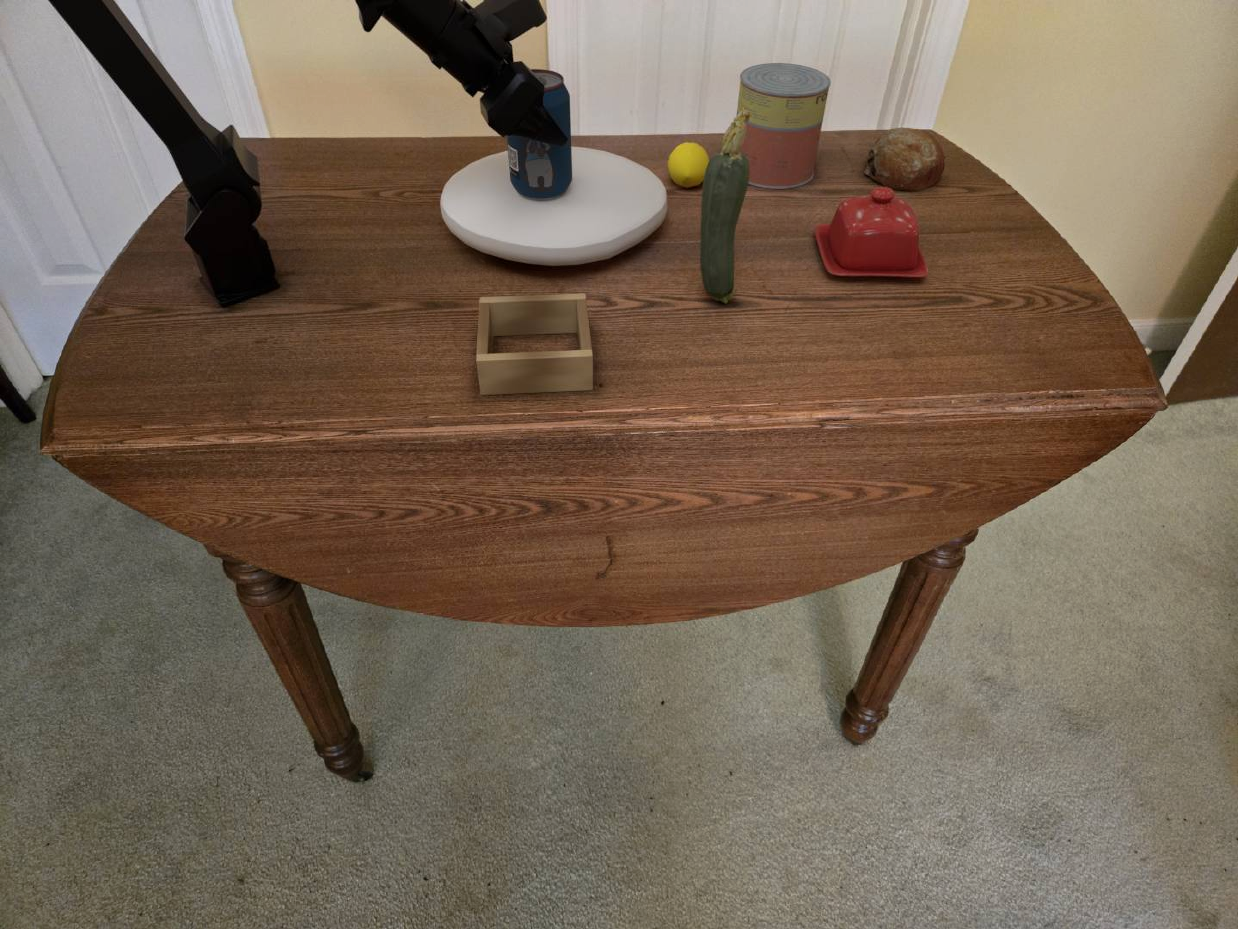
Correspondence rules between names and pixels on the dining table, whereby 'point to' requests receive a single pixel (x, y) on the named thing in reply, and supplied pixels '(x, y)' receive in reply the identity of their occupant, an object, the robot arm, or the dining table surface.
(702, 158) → the lemon
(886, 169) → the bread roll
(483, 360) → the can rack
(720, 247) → the vegetable
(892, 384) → the dining table surface
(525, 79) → the robot arm
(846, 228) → the butter dish
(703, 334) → the dining table surface
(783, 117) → the canned food
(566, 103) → the soda can
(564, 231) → the plate
